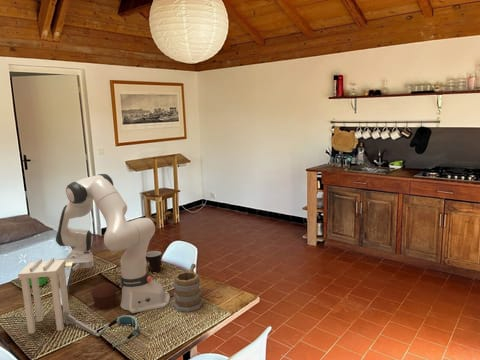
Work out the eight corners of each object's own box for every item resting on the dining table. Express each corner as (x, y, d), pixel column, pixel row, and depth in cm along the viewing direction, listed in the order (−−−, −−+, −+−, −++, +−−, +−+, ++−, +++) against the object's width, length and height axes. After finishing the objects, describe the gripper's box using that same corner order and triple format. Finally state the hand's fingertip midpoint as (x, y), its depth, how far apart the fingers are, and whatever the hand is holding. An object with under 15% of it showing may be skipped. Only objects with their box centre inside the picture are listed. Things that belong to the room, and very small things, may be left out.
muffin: (123, 300, 178) (121, 280, 176) (109, 312, 167) (107, 291, 166) (101, 297, 181) (99, 278, 179) (86, 309, 170) (84, 288, 169)
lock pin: (74, 265, 190) (72, 262, 188) (64, 308, 172) (62, 304, 170) (67, 266, 190) (66, 262, 188) (56, 309, 171) (55, 305, 169)
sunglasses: (146, 332, 151) (143, 321, 150) (113, 355, 141) (110, 344, 139) (126, 320, 161) (123, 310, 159) (94, 341, 150) (91, 330, 148)
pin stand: (71, 315, 166) (64, 256, 161) (63, 330, 154) (55, 267, 149) (37, 318, 164) (29, 258, 159) (26, 334, 152) (17, 270, 147)
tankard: (197, 313, 165) (195, 280, 162) (169, 310, 167) (167, 279, 165) (209, 291, 184) (208, 262, 181) (185, 290, 186) (183, 261, 184)
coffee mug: (145, 268, 213) (144, 252, 211) (161, 266, 216) (160, 250, 214) (147, 277, 202) (146, 259, 200) (163, 274, 205) (162, 257, 203)
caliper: (63, 324, 159) (62, 310, 158) (66, 323, 160) (64, 309, 159) (97, 337, 149) (96, 322, 148) (99, 335, 150) (98, 321, 149)
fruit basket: (50, 281, 201) (48, 261, 199) (40, 289, 192) (37, 268, 190) (30, 281, 202) (28, 261, 200) (19, 288, 193) (16, 268, 191)
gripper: (54, 255, 196) (44, 265, 183) (95, 252, 199) (88, 262, 186) (55, 266, 198) (46, 277, 184) (96, 263, 200) (89, 274, 187)
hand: (67, 269), depth 185 cm, fingers open, 3 cm apart
